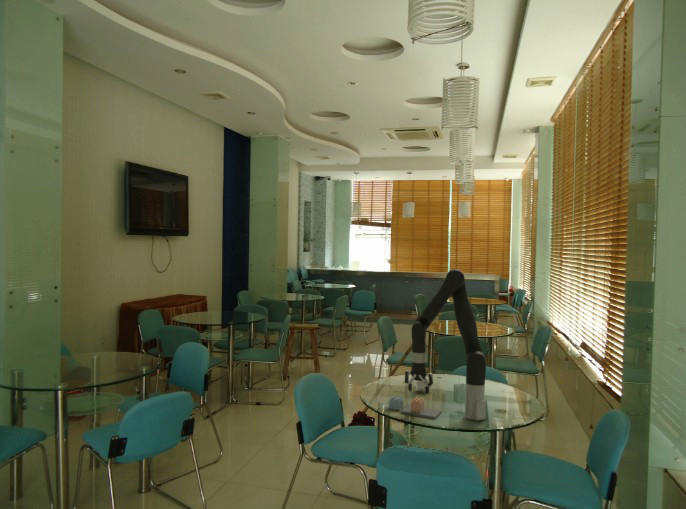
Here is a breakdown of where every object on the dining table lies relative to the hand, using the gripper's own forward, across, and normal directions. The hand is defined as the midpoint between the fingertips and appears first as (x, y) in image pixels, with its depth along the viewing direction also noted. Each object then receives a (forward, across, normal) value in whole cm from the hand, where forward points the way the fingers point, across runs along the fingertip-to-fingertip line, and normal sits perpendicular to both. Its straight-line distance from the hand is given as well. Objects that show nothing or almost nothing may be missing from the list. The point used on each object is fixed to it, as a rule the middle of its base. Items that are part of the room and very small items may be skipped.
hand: (418, 392), depth 264 cm
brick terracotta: (+9, 0, 0) cm, 9 cm away
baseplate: (+10, +2, 0) cm, 11 cm away
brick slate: (+10, -12, +1) cm, 16 cm away
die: (+11, -10, +39) cm, 41 cm away
